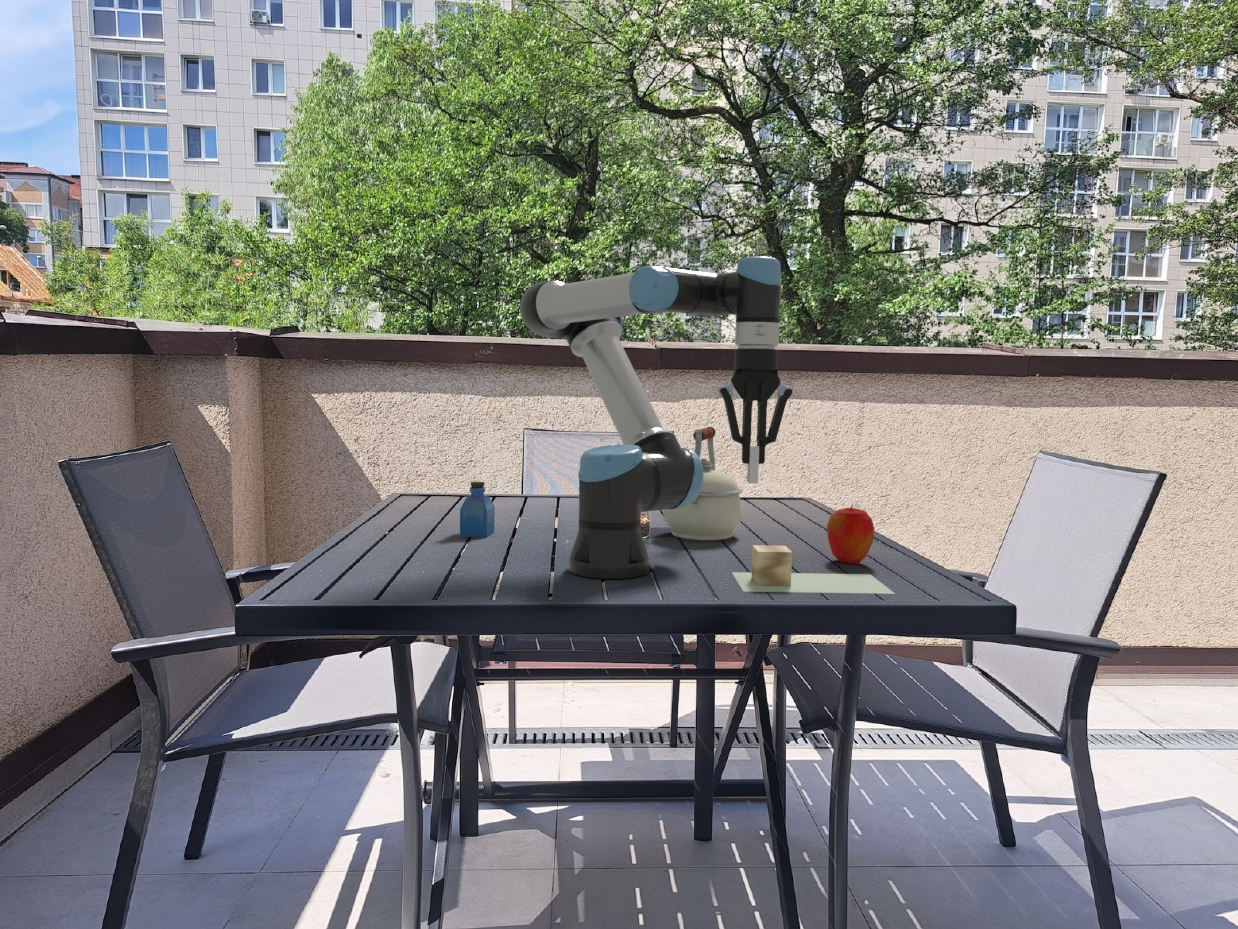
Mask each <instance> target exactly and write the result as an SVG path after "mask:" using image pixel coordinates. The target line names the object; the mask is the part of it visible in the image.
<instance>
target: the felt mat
mask: <svg viewBox="0 0 1238 929" xmlns="http://www.w3.org/2000/svg"><path fill="white" fill-rule="evenodd" d="M731 573H732V575H733V577H734V578H735V580H736V582H737V583H738V585H739V587H740V588H741V590H742V592H745V593H748V592H749V593H750V592H754V593H755V592H756V593H759V592H760V593H762V592H763V593H815V594H817V593H819V594H820V593H821V594H822V593H823V594H826V593H827V594H837V593H838V594H840V593H841V594H876V595H878V594H884V595H887V594H888V595H889V594H890V595H895V594H896V593H895V592H894V591H892V590H891V589H890V588H889V587H887V586H886V585H885V584H884V583H883V582H881V581H879V580H878V579H877V577H874V576H873V575H872V574H869V573H866V574H865V573H806V572H805V573H803V572H800V573H799V572H798V573H797V572H791V586H768V585H756V583H755V582H754V581H753V579H752V572H747V571H746V572H741V571H739V572H737V571H736V572H735V571H732V572H731Z"/></svg>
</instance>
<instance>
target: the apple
mask: <svg viewBox="0 0 1238 929" xmlns="http://www.w3.org/2000/svg"><path fill="white" fill-rule="evenodd" d="M826 531H827V532H826V533H827V540H828V544H829V547H830V551H831V553H832V555H833V557H834V558H836V559H837V560H838V561H839V563H843V564H849V565H850V564H851V565H852V564H853V565H859V564H860V563H861V562H862V561H863V560H864V559H865V558H866V557H867V556H868V553H869V551H870V549H871V547H872V544H873V543H874V536H875V534H874V533H875V525H874V523H873V518H871V516H870V515H869V513H868V512H867V511H866V510H864V509H859V508H856V507H853V504H852V503H851V507H846V508H841V509H837V510H836V511H835V512H833V513H832V514H831V515H830V517H829V519H828V522H827V524H826Z"/></svg>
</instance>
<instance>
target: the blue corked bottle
mask: <svg viewBox="0 0 1238 929" xmlns="http://www.w3.org/2000/svg"><path fill="white" fill-rule="evenodd" d="M485 492H486V487H485V481H470V487H469V493H470V495H469V496H467V497H466V498H465V499H464V501H463V503H462V505H461V506H460V509H459V537H464V538H465V537H468V538H484V537H485V539H486V538H489V537H490V536H492V535H493V534H495V505H494V502H492V500H491V498H490V496H489V495H485Z"/></svg>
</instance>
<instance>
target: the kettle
mask: <svg viewBox="0 0 1238 929" xmlns="http://www.w3.org/2000/svg"><path fill="white" fill-rule="evenodd" d="M716 434H717V433H716V429H715V428H714V427H713V426H707V427H705V428H701V429H697V430H695V431H694V432H693V439H694V441H695V444H694V452H695V453H696V454H697V455H698V457H699V458H700V460H701V463H702V466H703V482H702V487H701V491H700V493H699V495H698V496H697V498H696V499H695V500H694V501H693V502H692V503H690V504H689V505H687V506H683V507H678V508H676V509H664V510H662V515H663V518H664V521H665V523H667V525H668V526H669V527H670V529H672V530H671V534H672V535H673V536H674V537H676V538H679V539H684V540H690V541H702V542H703V541H724V540H729V539H730V538H732V537H733V536H734V533H733V531H734V530H735V529H736V528H737V527H738V526H739V524H740V523H741V521H742V518H743V515H744V514H743V509H744V508H743V504H742V501H741V497H740V494H741V493H743V492H742V488H739V486H738V483H737V481H736V480H735V479H734V478H733V477H732V476H731V475H729V474H727V473H725V472H723V471H719V470H716V457H715V449H714V448H715V447H714V437H715V435H716ZM706 440H707V442H706V443H707V452H708V459H706V458H701V453H702V444H703V443H702V442H703V441H706Z"/></svg>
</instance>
